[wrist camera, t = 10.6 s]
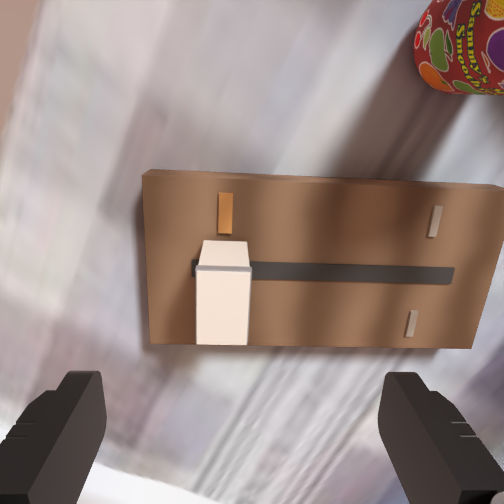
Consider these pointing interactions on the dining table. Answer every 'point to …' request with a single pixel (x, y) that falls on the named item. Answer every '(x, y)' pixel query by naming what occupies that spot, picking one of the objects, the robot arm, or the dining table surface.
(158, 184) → the brown flat wooden board
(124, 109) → the dining table surface
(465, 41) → the smoothie
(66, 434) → the robot arm
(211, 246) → the fader tab
